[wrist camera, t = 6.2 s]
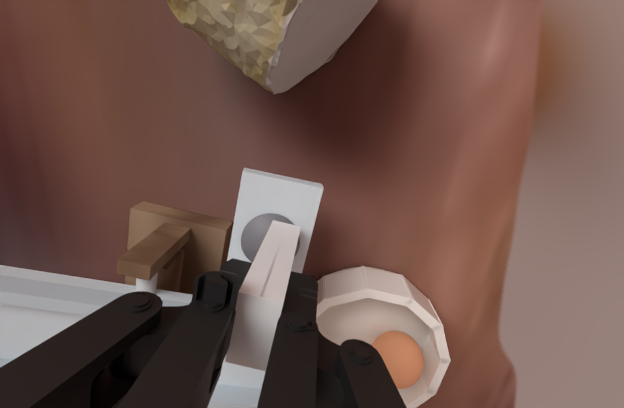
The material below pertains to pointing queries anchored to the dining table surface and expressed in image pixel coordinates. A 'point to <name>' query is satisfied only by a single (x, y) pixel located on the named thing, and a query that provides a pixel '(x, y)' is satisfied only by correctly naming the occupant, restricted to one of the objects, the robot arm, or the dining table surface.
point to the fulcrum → (172, 246)
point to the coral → (274, 34)
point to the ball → (400, 357)
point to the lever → (95, 293)
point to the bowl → (384, 319)
